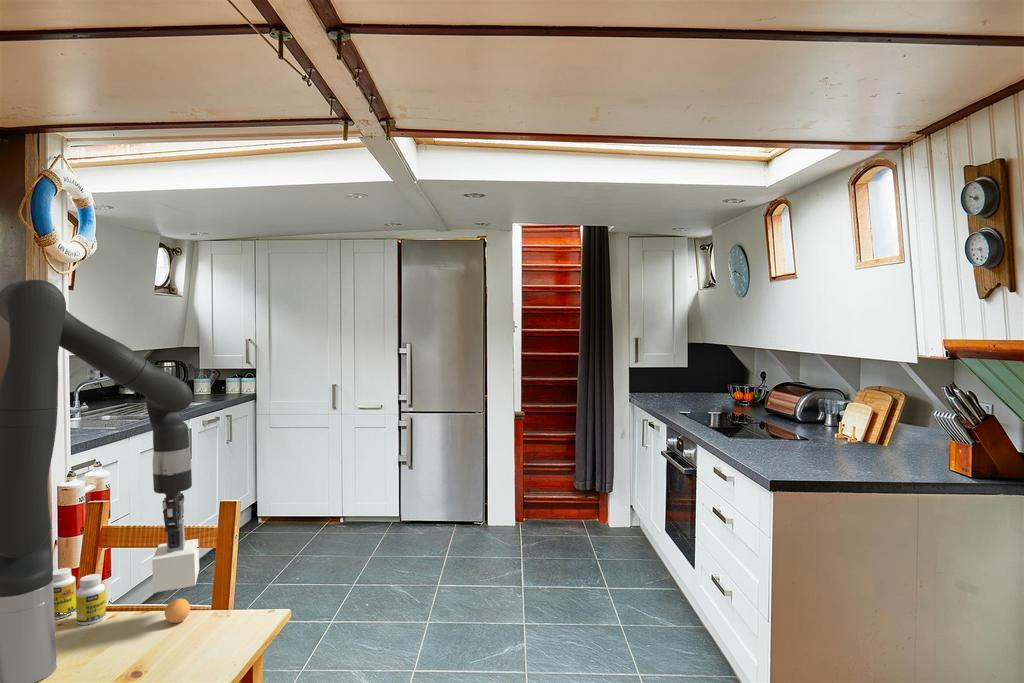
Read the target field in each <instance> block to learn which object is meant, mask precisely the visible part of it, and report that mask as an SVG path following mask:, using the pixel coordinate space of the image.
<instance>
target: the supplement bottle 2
mask: <svg viewBox="0 0 1024 683" xmlns="http://www.w3.org/2000/svg"><path fill="white" fill-rule="evenodd" d="M101 582H102V574H99V573H90V574H87V575H85V576H82V577H81V578H80V579H79V588H78V589H76V611H75V613H76V624H78V625H79V624H80V626H88V624H89V625H93V624H96V623H99V622H101V621H102V620H104V619H105V618H106V613H107V612H106V586H105V584H103V583H101Z"/></svg>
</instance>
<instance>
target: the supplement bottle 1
mask: <svg viewBox="0 0 1024 683" xmlns="http://www.w3.org/2000/svg"><path fill="white" fill-rule="evenodd" d="M76 581H77V579H76V576H74V575H72V568H70V567H63V568H58V569H55V570H54V569H53V590H54V614H55V620H61V619H60V618H62V619H64V618H63V617H65V618H68V617H67V616H66V615H67V614H72V615H73V614H75V613H76V592H77V586H76V585H77V583H76ZM71 612H72V613H71ZM57 613H58V614H57ZM60 613H63V614H60ZM64 613H66V614H64Z"/></svg>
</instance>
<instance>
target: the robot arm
mask: <svg viewBox="0 0 1024 683" xmlns="http://www.w3.org/2000/svg"><path fill="white" fill-rule="evenodd" d="M0 317H1V318H2V319H3V320H4V321H6V322H7V323H8V324H9V325H8V326H9V328H8V329H9V351H8V358H7V362H6V365H5V368H4V371H3V374H2V376H1V379H0V683H34V682H35V683H38V682H40V681H41V680H43V679H45V678H47V677H49V676H51V674H53V673H54V672H55V670H56V669H57V647H56V646H57V645H56V621H55V620H56V619H55V614H54V590H53V571H54V569H53V568H54V567H53V566H54V565H53V552H52V551H53V550H52V520H51V515H50V507H49V506H50V505H49V490H48V489H49V486H48V485H49V484H48V483H49V473H50V468H51V463H52V459H53V454H54V448H55V441H56V434H57V424H58V411H59V410H58V408H59V405H58V404H59V402H58V401H59V399H58V398H59V397H58V396H59V352H60V350H59V349H60V348H62V349H64V350H65V351H68V352H69V353H71V354H73V355H74V356H76V357H77V358H79V359H80V360H81V361H83V362H85V363H87V365H89V366H91V367H92V368H94V369H95V370H97V371H98V372H100V373H101V374H102V375H104V376H106V377H107V378H109V379H111V380H112V381H114V382H116V384H118V385H120V386H122V387H124V388H125V389H127V390H129V391H132V392H135V393H138V394H140V395H143V396H144V397H145V399H146V400H145V404H146V405H145V406H146V409H147V414H148V417H149V422H150V425H151V429H152V448H153V449H152V450H153V452H152V453H153V454H152V480H153V481H152V482H153V484H152V485H153V486H152V487H153V492H154V493H155V494H160V495H161V494H164V495H165V497H164V499H163V500H162V504H161V505H162V506H161V508H162V509H163V510H162V513H163V521H164V531H165V533H166V532H168V547H169V548H170V549H172V548H178V547H179V546H180V532H179V531H180V520H182V519H184V515H185V514H184V512H185V507H184V506H185V495H184V492H185V491H187V490H189V489H191V487H192V486H193V481H192V480H193V478H192V475H193V474H192V457H191V452H190V434H189V433H190V432H189V431H190V430H189V426H188V424H187V423H186V422H185V421H184V420H183V419H182V413H181V412H183V411H184V410H187V408H189V407H190V405H191V404H192V402H193V397H194V395H193V391H192V390H191V387H190V386H189V385H188V384H187V383H185V382H184V381H183V380H182V379H179V378H178V377H176V376H174V375H172V374H171V373H169V372H167V371H165V370H164V369H161V368H159V367H157V366H155V365H154V364H152V362H150V361H149V360H147V359H145V357H143V356H141V354H138V353H137V352H135V351H134V350H132V348H130V347H129V346H126V345H125V344H123V343H121V342H119V341H118V340H117V339H114V338H112V337H110V336H108V335H106V334H104V333H102V332H100V331H98V330H96V329H95V328H93V327H91V326H89V325H87V324H86V323H85V322H83V321H81V319H78V318H77V317H76V316H74V315H73V314H72V313H70V312H69V311H68V310H67V302H66V298H65V296H64V293H62V291H61V289H59V288H58V287H57V286H56V285H55V284H53V283H51V282H49V281H47V280H43V279H28V280H20V281H16V282H12V283H10V284H8V285H5V287H3V288H2V289H1V290H0ZM170 523H175V525H171V526H170ZM37 681H38V682H37Z"/></svg>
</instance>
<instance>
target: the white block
mask: <svg viewBox="0 0 1024 683" xmlns="http://www.w3.org/2000/svg"><path fill="white" fill-rule="evenodd" d="M171 525H175V523H170V526H171ZM179 532H180V546H179V547H178V548H172V549H170V548H169V547H168V532H166V531H165V533H166V534H165V535H166V542H165V543H160V544H158V546H157V549H156V550H155V553H154V555H153V558H152V559H151V562H152V564H151V565H152V586H153V588H152V589H153V590H152V591H153V593H154V594H155V593H160V592H165V591H172V590H177V589H182V588H183V589H185V588H189V587H195V586H196V584H197V581H198V576H199V571H200V554H199V552H200V551H199V548H197V547H199V538H192V539H188V540H187V539H185V538H186V537H185V519H184V518H183V519H182V520H180V531H179Z"/></svg>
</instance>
